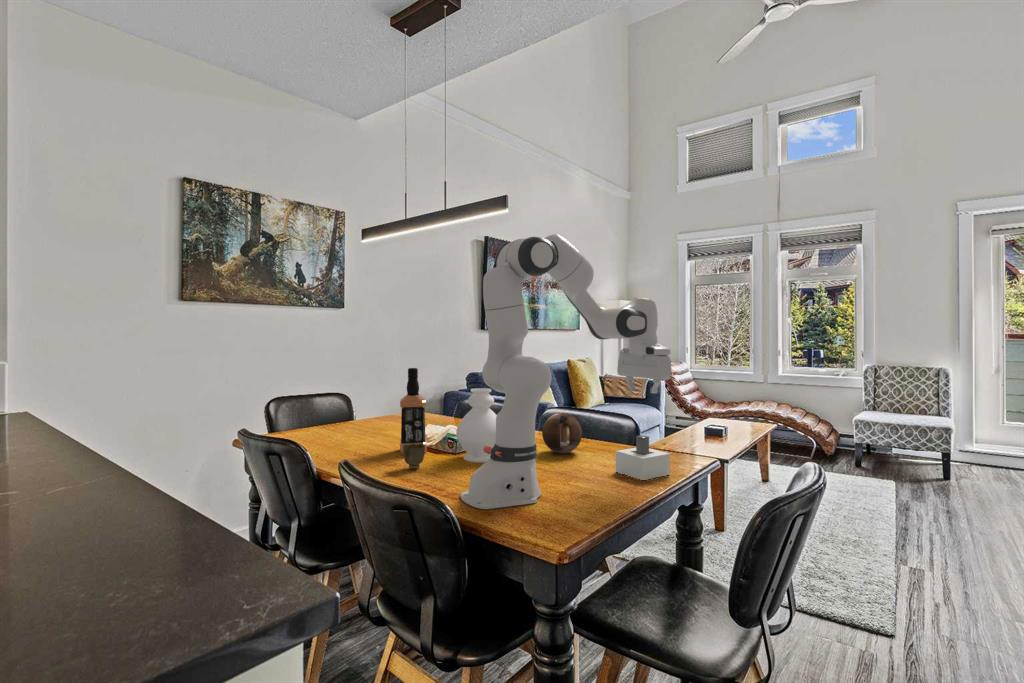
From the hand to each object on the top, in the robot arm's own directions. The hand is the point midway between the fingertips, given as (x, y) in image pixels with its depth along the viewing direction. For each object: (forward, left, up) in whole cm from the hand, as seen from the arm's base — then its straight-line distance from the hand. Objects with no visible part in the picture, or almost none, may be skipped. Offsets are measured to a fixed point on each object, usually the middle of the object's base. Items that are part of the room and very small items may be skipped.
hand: (642, 391), depth 166 cm
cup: (-60, +45, -27) cm, 80 cm away
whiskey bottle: (-51, +69, -27) cm, 90 cm away
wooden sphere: (-4, +37, -27) cm, 46 cm away
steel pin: (0, 0, -27) cm, 27 cm away
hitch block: (0, 0, -27) cm, 27 cm away
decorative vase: (-34, +46, -27) cm, 63 cm away
